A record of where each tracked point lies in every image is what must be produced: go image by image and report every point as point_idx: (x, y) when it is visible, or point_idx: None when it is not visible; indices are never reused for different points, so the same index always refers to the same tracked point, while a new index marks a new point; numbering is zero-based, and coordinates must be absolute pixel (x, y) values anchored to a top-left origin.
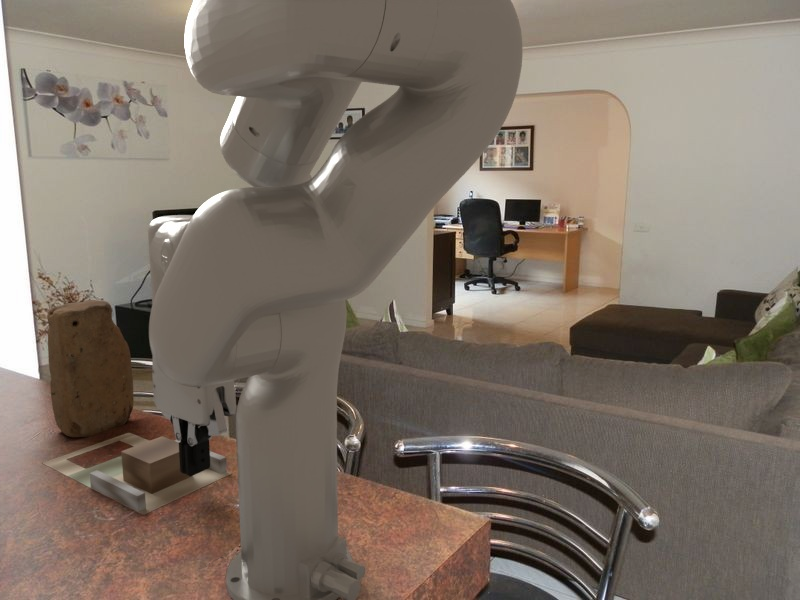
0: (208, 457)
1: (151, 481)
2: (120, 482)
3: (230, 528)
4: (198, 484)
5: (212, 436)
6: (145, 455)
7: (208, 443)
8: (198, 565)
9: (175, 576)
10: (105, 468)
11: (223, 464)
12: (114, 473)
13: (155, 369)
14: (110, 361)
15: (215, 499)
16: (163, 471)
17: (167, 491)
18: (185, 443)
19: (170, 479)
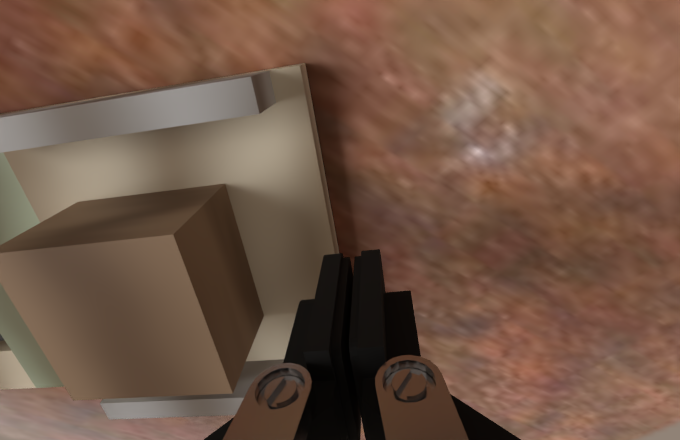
0: (381, 279)
1: (251, 341)
2: (217, 401)
3: (568, 243)
4: (297, 201)
5: (439, 370)
6: (153, 373)
7: (382, 323)
8: (625, 368)
9: (609, 408)
10: None
11: (263, 90)
12: None
13: None
14: None
15: (385, 181)
16: (235, 317)
17: (277, 284)
18: (355, 437)
19: (241, 273)
